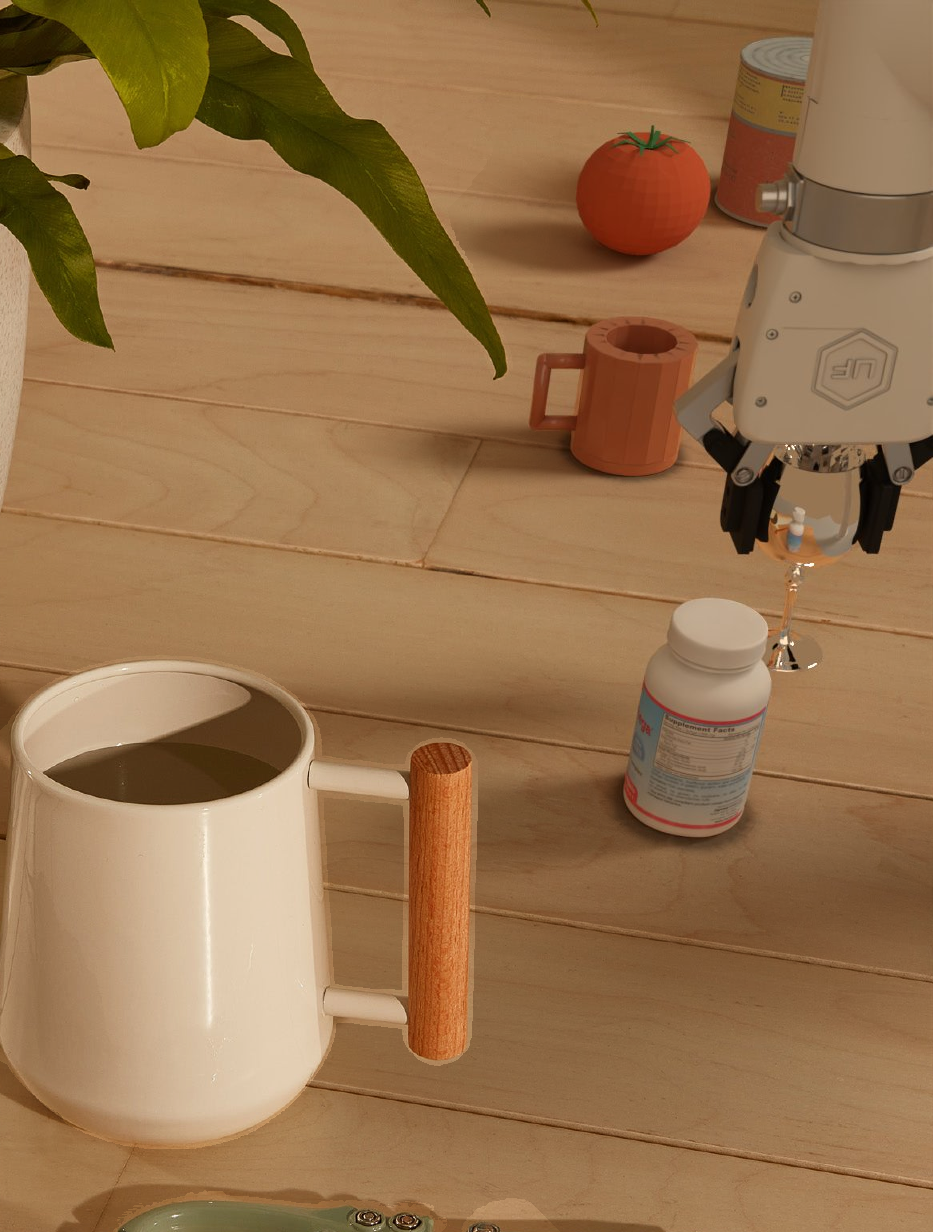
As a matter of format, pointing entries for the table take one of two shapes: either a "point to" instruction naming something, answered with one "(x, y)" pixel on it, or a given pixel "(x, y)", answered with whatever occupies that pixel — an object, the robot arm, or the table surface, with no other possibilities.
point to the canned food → (762, 123)
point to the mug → (622, 394)
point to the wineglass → (808, 529)
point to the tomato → (643, 192)
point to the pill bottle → (700, 720)
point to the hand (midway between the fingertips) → (802, 538)
